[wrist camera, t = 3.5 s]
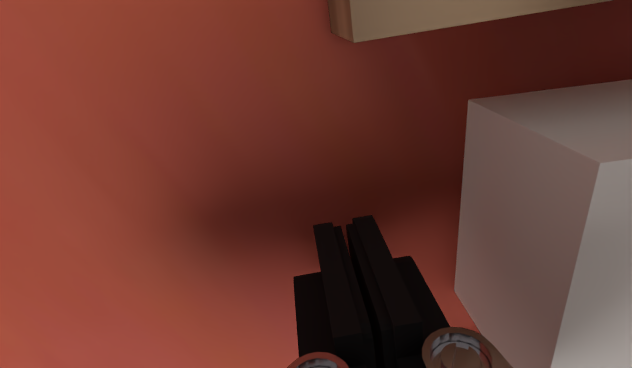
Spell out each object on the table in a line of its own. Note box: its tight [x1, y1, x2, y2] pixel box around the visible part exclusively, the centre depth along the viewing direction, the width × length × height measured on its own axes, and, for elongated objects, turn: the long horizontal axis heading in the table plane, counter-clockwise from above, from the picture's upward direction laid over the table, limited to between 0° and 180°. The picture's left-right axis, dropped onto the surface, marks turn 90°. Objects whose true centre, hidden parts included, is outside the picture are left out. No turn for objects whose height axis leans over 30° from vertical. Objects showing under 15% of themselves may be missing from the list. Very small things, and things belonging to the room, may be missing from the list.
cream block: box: [454, 79, 632, 368], centre depth 10 cm, size 7×7×5 cm
